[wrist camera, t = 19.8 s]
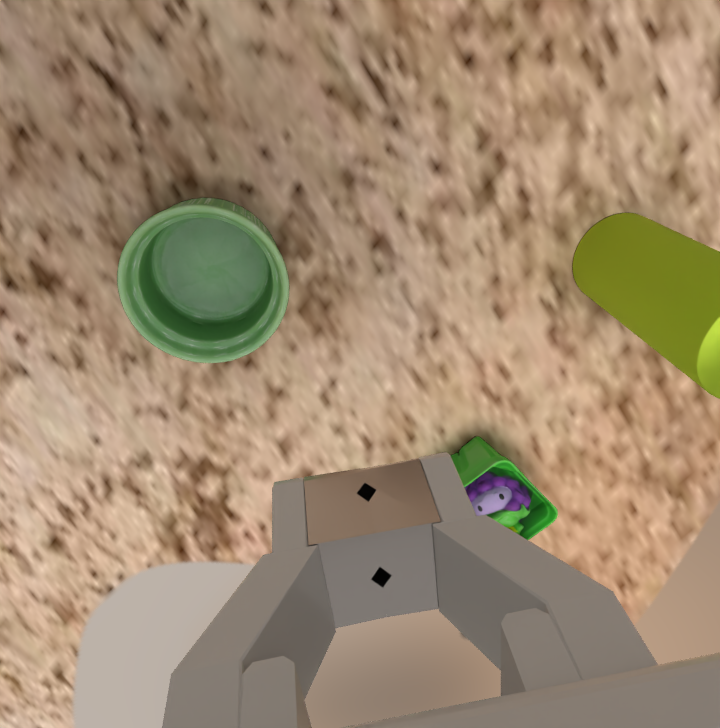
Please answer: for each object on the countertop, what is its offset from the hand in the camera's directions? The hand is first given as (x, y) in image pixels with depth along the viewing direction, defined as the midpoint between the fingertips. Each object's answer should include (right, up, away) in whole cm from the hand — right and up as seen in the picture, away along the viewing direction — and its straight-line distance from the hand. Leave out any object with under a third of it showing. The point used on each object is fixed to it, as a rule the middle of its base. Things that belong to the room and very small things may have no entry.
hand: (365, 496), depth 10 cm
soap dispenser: (+16, +9, +29) cm, 34 cm away
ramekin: (-9, +8, +26) cm, 28 cm away
